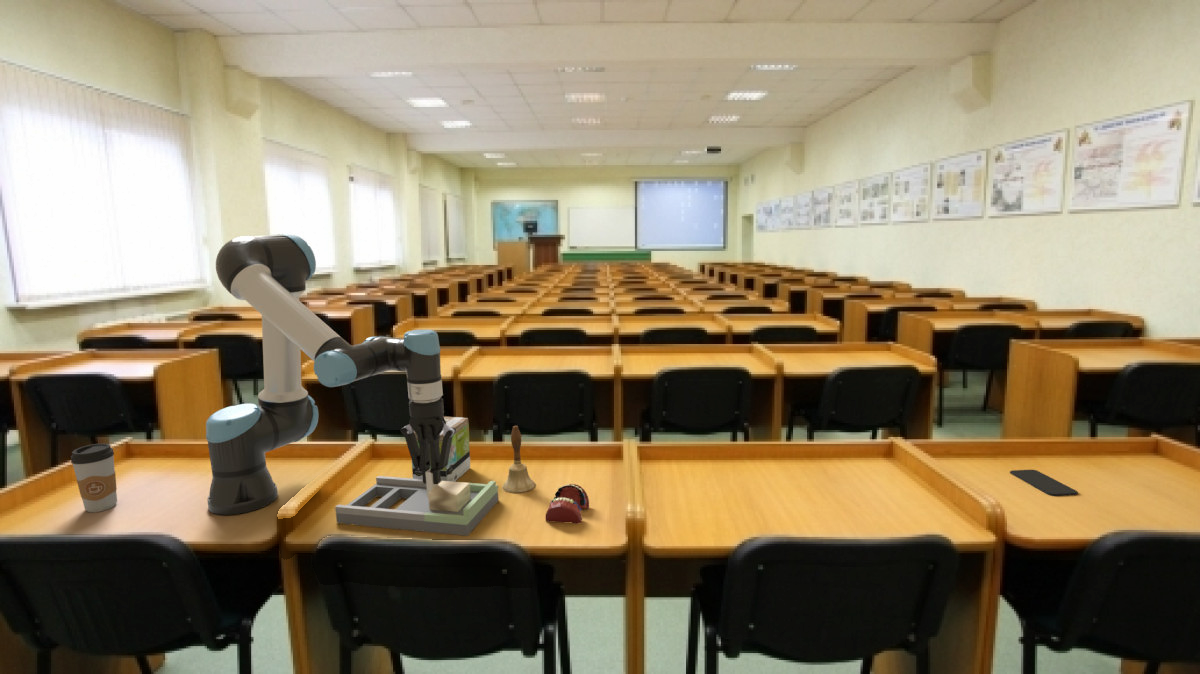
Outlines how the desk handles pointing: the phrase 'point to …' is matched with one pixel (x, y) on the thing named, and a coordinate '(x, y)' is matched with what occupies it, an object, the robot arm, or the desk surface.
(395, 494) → the lane deck
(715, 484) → the desk surface
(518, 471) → the hand bell
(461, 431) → the tea box
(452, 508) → the block
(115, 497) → the coffee cup
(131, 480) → the desk surface
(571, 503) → the teeth model
